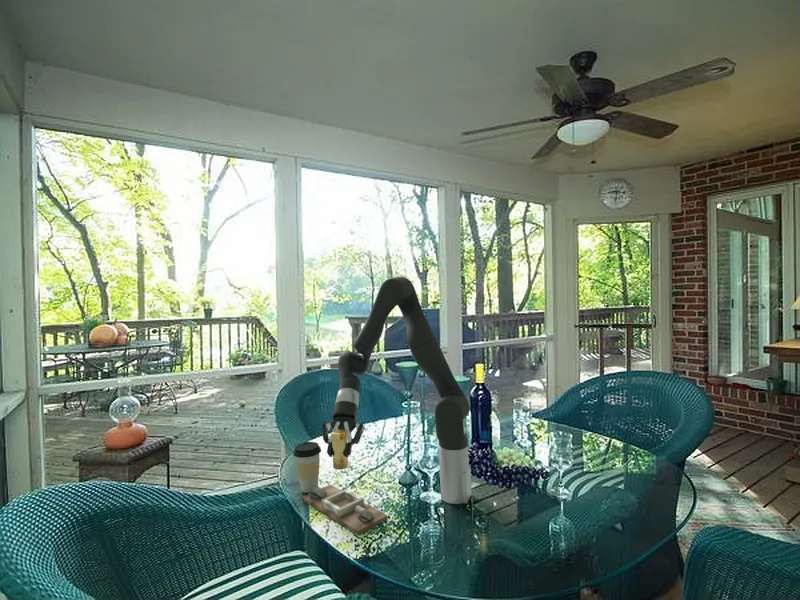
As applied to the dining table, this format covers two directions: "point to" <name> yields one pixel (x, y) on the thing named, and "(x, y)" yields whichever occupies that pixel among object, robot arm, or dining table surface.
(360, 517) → the clamping jig board
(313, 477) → the coffee cup
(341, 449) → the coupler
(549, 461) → the dining table surface
